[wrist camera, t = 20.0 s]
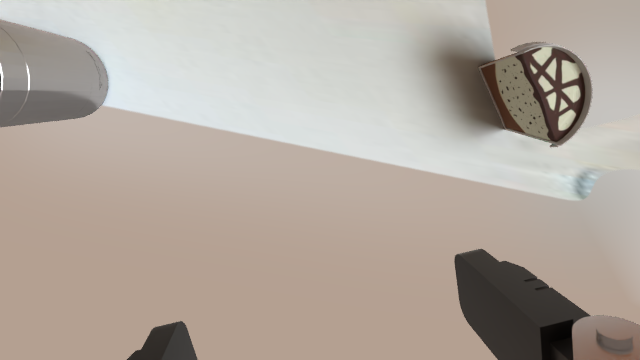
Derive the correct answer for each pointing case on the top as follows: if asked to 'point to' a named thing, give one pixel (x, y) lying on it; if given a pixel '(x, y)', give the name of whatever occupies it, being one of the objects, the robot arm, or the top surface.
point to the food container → (540, 91)
